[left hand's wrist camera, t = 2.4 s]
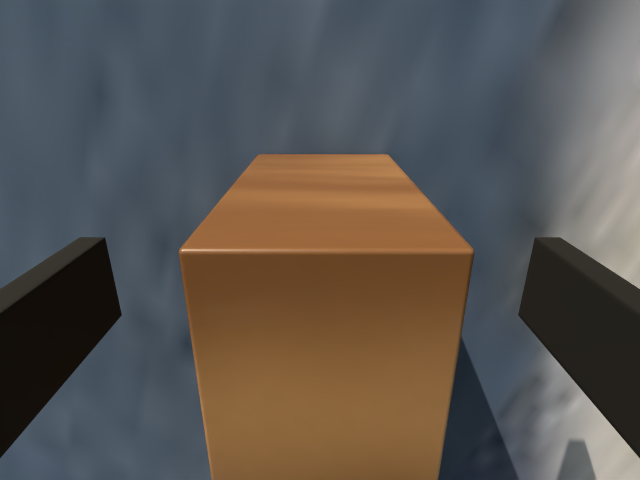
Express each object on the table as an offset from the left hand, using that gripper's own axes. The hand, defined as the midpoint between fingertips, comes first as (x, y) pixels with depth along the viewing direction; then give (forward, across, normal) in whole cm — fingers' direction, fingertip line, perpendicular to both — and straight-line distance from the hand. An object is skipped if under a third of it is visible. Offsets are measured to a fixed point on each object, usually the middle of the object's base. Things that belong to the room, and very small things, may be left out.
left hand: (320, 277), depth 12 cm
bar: (+3, 0, -11) cm, 11 cm away
